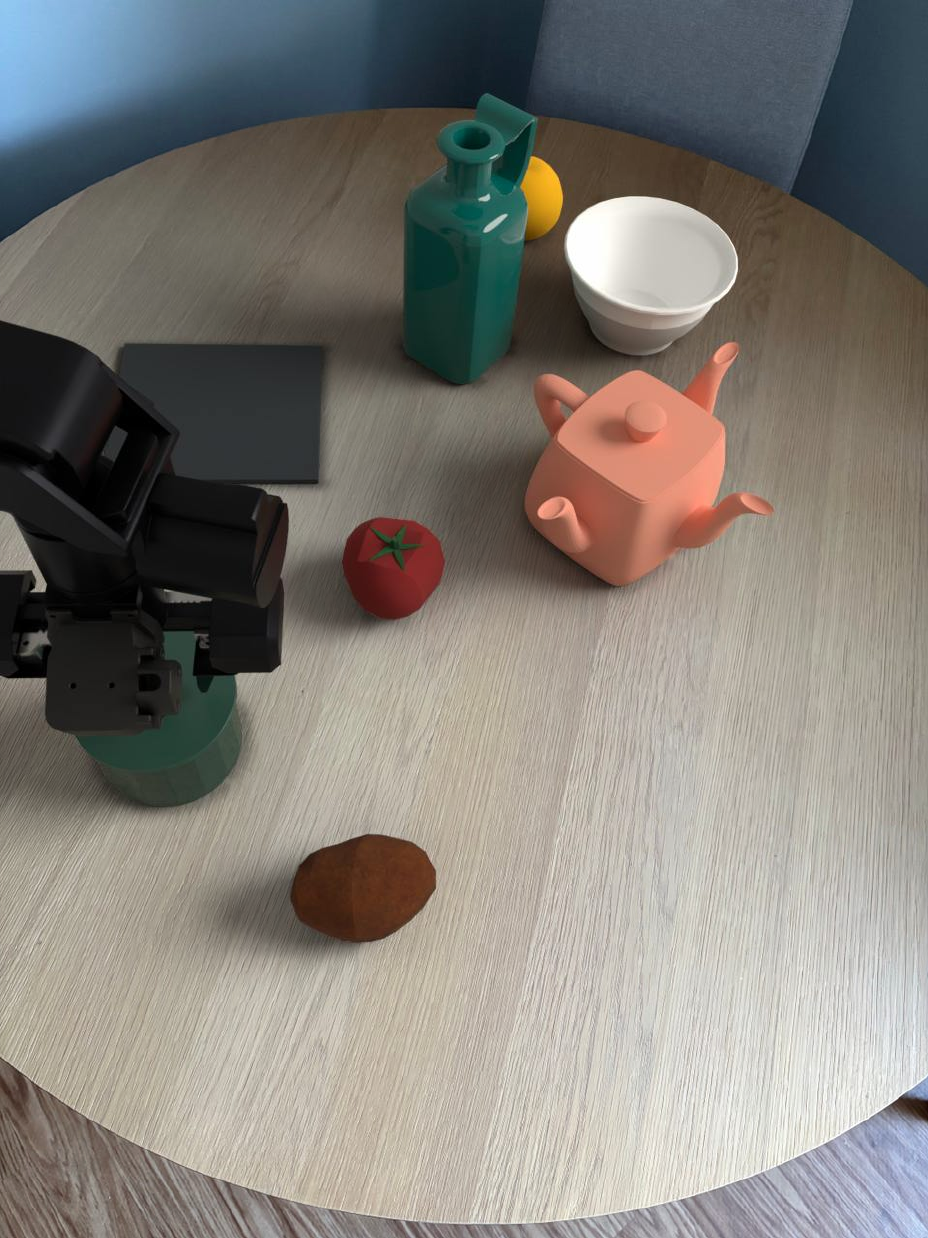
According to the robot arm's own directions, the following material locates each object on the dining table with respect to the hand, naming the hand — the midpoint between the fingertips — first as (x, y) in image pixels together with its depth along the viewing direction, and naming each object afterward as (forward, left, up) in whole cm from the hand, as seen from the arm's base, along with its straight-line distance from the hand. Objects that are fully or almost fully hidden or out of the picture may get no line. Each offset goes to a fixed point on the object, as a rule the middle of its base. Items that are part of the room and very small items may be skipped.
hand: (149, 687), depth 69 cm
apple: (+30, +58, -9) cm, 66 cm away
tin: (0, 0, -8) cm, 8 cm away
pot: (+36, +20, -9) cm, 42 cm away
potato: (+14, -12, -9) cm, 20 cm away
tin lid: (0, 0, -2) cm, 2 cm away
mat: (+1, +32, -8) cm, 33 cm away
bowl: (+40, +44, -9) cm, 60 cm away
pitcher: (+23, +41, -9) cm, 48 cm away
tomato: (+16, +13, -9) cm, 22 cm away
